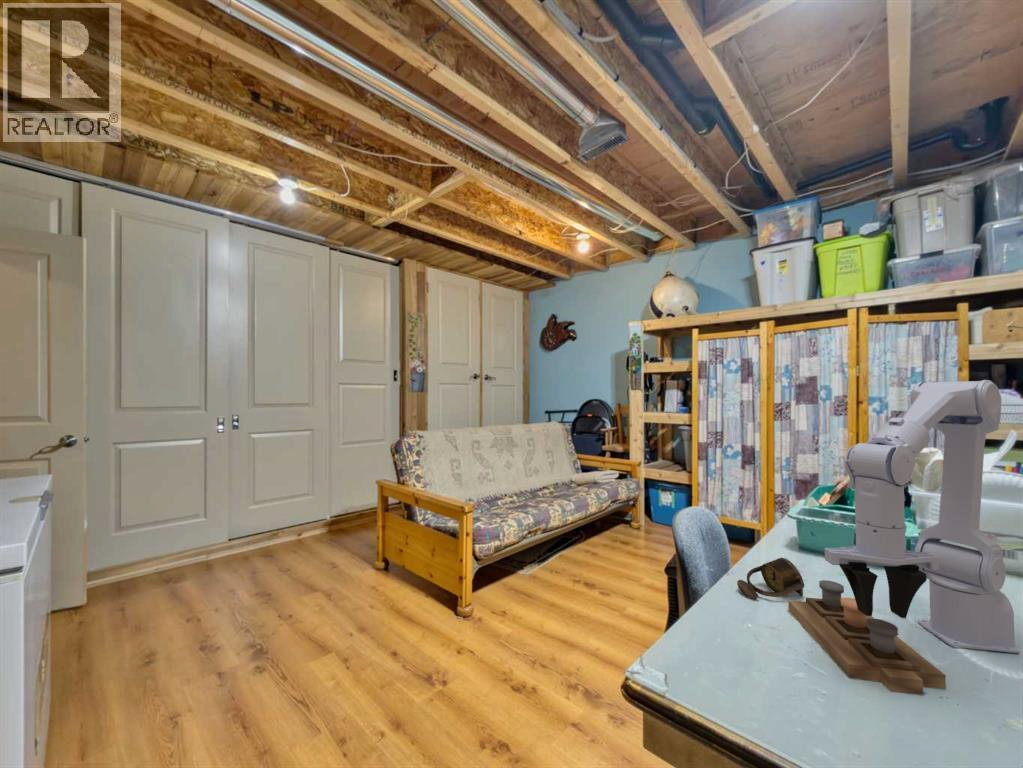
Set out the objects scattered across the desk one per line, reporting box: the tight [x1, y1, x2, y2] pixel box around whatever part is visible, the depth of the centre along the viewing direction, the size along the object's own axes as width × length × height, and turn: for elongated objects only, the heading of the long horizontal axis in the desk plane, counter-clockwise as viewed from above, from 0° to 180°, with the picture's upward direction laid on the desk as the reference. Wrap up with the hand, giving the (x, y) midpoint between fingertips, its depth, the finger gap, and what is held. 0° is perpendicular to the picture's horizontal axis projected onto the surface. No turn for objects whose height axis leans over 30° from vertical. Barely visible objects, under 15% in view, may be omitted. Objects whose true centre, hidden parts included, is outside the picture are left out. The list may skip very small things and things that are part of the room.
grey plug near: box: [866, 617, 899, 653], centre depth 64 cm, size 4×4×3 cm
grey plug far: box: [818, 579, 845, 607], centre depth 78 cm, size 4×4×3 cm
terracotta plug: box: [841, 597, 865, 628], centre depth 71 cm, size 4×4×3 cm
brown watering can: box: [736, 557, 805, 600], centre depth 89 cm, size 7×13×10 cm
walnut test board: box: [787, 597, 947, 696], centre depth 71 cm, size 12×24×3 cm, turn 169°
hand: (881, 613), depth 64 cm, fingers open, 4 cm apart
